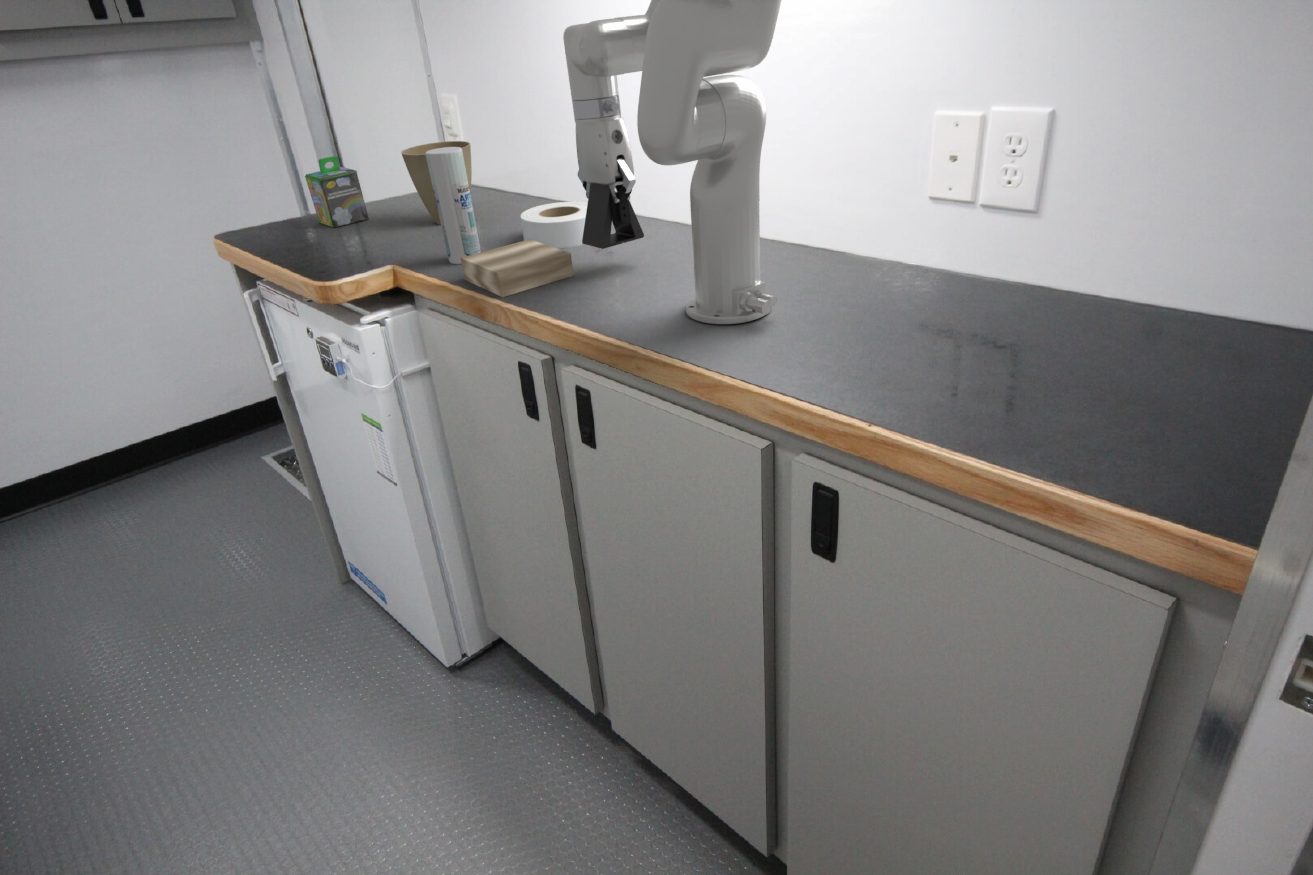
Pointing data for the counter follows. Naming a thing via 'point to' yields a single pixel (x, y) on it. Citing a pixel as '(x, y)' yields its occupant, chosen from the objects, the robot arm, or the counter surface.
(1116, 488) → the counter surface
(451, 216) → the spray can
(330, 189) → the chalk box
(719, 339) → the counter surface
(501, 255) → the birch base
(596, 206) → the black triangular stand
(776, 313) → the counter surface
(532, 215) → the roll of tape
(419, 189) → the plant pot
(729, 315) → the robot arm
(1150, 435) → the counter surface
